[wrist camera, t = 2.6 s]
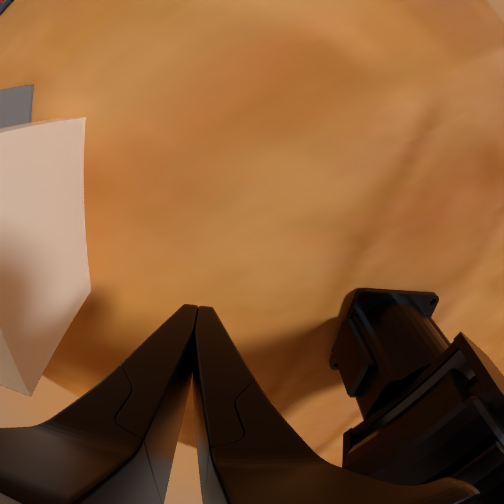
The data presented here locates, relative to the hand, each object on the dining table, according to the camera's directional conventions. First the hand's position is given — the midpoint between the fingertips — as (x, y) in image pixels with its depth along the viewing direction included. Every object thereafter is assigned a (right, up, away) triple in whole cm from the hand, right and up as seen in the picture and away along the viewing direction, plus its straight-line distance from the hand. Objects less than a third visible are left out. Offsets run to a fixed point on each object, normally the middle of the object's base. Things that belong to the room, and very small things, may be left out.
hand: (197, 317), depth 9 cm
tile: (-8, +4, +6) cm, 11 cm away
